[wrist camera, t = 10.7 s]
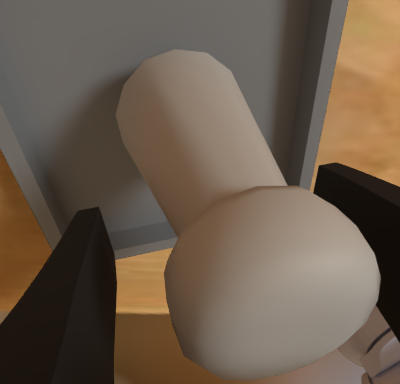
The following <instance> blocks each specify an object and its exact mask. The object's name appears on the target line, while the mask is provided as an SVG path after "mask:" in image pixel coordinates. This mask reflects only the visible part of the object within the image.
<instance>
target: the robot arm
mask: <svg viewBox="0 0 400 384" xmlns="http://www.w3.org/2000/svg"><path fill="white" fill-rule="evenodd" d="M313 194H315V195H317V196H318V197H320V198H322V199H323V200H325V201H327V202H328V203H330V204H332V205H333V206H335V207H336V208H337V209H339V210H340V211H341V212H342V213H343V214H344V215H345V216H346V217H347V218H348V219H350V220H351V221H352V222H353V223H354V224H355V225H356V226H357V227H358V229H359V231H360V232H361V234H362V235H363V237H364V238H365V240H366V241H367V243H368V244H369V246H370V248H371V249H372V251H373V252H374V254H375V257H376V261H377V265H378V269H379V272H380V276H381V281H380V289H379V296H378V301H377V303H376V305H375V306H374V308H373V310H372V312H371V314H370V316H369V318H368V320H367V322H366V323H365V324H364V325H363V326H362V327H361V328H360V329H359V330H358V331H356V332H355V333H354V334H353V335H352V336H351V337H350V338H349V339H348V340H347V341H346V342H345V343H344V344H342V345H341V346H339V347H338V350H339V351H340V352H341V353H342V354H343V355H344V356H345V357H347V358H348V359H350V360H351V361H352V362H354V363H356V364H357V365H359V366H362V367H364V368H365V370H366V373H364V374H363V375H362V384H400V187H399V186H396V185H394V184H391V183H389V182H386V181H384V180H381V179H379V178H376V177H374V176H371V175H369V174H366V173H364V172H361V171H359V170H356V169H354V168H351V167H348V166H345V165H342V164H339V163H330V164H325V165H319V168H318V173H317V178H316V182H315V187H314V192H313ZM116 293H117V279H116V266H115V254H114V251H113V248H112V245H111V242H110V239H109V236H108V233H107V230H106V226H105V223H104V220H103V217H102V214H101V211H100V208H99V207H94V208H89V209H84V210H78V211H77V212H76V214H75V215H74V217H73V219H72V220H71V222H70V224H69V225H68V227H67V229H66V231H65V232H64V234H63V236H62V237H61V239H60V241H59V242H58V244H57V246H56V247H55V249H54V250H53V252H52V254H51V255H50V257H49V258H48V260H47V261H46V263H45V264H44V266H43V268H42V269H41V271H40V272H39V273H38V275H37V276H36V278H35V279H34V280H33V282H32V283H31V285H30V286H29V288H28V289H27V290H26V292H25V293H24V295H23V296H22V297H21V299H20V300H19V301H18V303H17V304H16V305H15V307H14V308H13V309H12V310H11V312H10V313H9V314H8V316H7V317H6V318H5V320H4V321H3V322H2V323H1V324H0V384H114V340H115V316H116Z"/></svg>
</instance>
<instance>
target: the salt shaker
mask: <svg viewBox="0 0 400 384" xmlns="http://www.w3.org/2000/svg"><path fill="white" fill-rule="evenodd" d="M115 115H116V119H117V122H118V126H119V130H120V134H121V138H122V141H123V144H124V145H125V147H126V149H127V150H128V152H129V154H130V156H131V157H132V159H133V161H134V163H135V164H136V166H137V168H138V170H139V171H140V173H141V175H142V177H143V178H144V180H145V182H146V183H147V185H148V187H149V189H150V190H151V192H152V194H153V196H154V197H155V199H156V201H157V203H158V204H159V206H160V208H161V210H162V211H163V213H164V215H165V216H166V218H167V220H168V222H169V223H170V225H171V227H172V229H173V230H174V232H175V234H176V236H177V237H178V239H177V242H176V244H175V246H174V248H173V250H172V252H171V254H170V256H169V258H168V261H167V264H166V268H165V272H164V278H165V288H166V299H167V304H168V308H169V312H170V316H171V321H172V325H173V328H174V331H175V333H176V336H177V338H178V341H179V343H180V347H181V349H182V352H183V355H184V356H185V357H187V358H188V359H190V360H192V361H193V362H195V363H196V364H198V365H200V366H201V367H203V368H204V369H206V370H208V371H209V372H211V373H213V374H215V375H216V376H218V377H220V378H222V379H227V380H228V379H229V380H249V381H250V380H256V379H261V378H266V377H271V376H276V375H281V374H285V373H288V372H291V371H293V370H296V369H298V368H301V367H304V366H306V365H309V364H311V363H314V362H316V361H317V360H319V359H320V358H322V357H324V356H325V355H327V354H328V353H330V352H332V351H333V350H335V349H336V348H338V347H339V346H341V345H342V344H344V343H345V342H346V341H347V340H348V339H349V338H350V337H351V336H352V335H353V334H354V333H355V332H356V331H358V330H359V329H360V328H361V327H362V326H363V325H364V324H365V323H366V322H367V320H368V318H369V316H370V314H371V312H372V310H373V308H374V306H375V305H376V303H377V301H378V296H379V289H380V281H381V276H380V272H379V269H378V265H377V261H376V257H375V254H374V252H373V251H372V249H371V248H370V246H369V244H368V243H367V241H366V240H365V238H364V237H363V235H362V234H361V232H360V231H359V229H358V227H357V226H356V225H355V224H354V223H353V222H352V221H351V220H350V219H348V218H347V217H346V216H345V215H344V214H343V213H342V212H341V211H340V210H339V209H337V208H336V207H335V206H333V205H332V204H330V203H328V202H327V201H325V200H323V199H322V198H320V197H318V196H317V195H315V194H313V193H312V192H310V191H308V190H306V189H304V188H301V187H299V186H288V185H287V183H286V181H285V179H284V177H283V175H282V173H281V171H280V169H279V167H278V165H277V163H276V161H275V159H274V157H273V155H272V153H271V151H270V149H269V147H268V145H267V143H266V141H265V139H264V137H263V135H262V133H261V131H260V129H259V127H258V125H257V123H256V121H255V119H254V117H253V115H252V113H251V111H250V109H249V107H248V105H247V103H246V101H245V99H244V97H243V95H242V93H241V91H240V89H239V86H238V84H237V82H236V80H235V78H234V76H233V74H232V72H231V71H230V70H229V69H228V68H227V67H225V66H224V65H223V64H221V63H220V62H219V61H217V60H216V59H215V58H213V57H212V56H211V55H209V54H208V53H205V52H197V51H187V50H178V49H173V50H170V51H167V52H164V53H162V54H159V55H156V56H153V57H150V58H147V59H145V60H144V61H143V62H142V63H141V65H140V66H139V67H138V68H137V69H136V70H135V72H134V73H133V74H132V75H131V76H130V78H129V79H128V80H127V81H126V82H125V84H124V86H123V89H122V93H121V96H120V100H119V104H118V107H117V111H116V114H115Z"/></svg>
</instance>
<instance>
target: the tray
mask: <svg viewBox="0 0 400 384" xmlns="http://www.w3.org/2000/svg"><path fill="white" fill-rule="evenodd" d="M348 1H349V0H0V149H1V151H2V153H3V155H4V157H5V159H6V161H7V163H8V165H9V167H10V169H11V171H12V172H13V174H14V176H15V178H16V180H17V182H18V184H19V186H20V188H21V190H22V192H23V194H24V196H25V198H26V200H27V202H28V204H29V206H30V208H31V210H32V212H33V214H34V216H35V218H36V220H37V222H38V224H39V225H40V227H41V229H42V231H43V233H44V235H45V237H46V239H47V241H48V243H49V245H50V247H51V249H52V251H53V250H54V249H55V247H56V246H57V244H58V242H59V241H60V239H61V237H62V236H63V234H64V232H65V231H66V229H67V227H68V225H69V224H70V222H71V220H72V219H73V217H74V215H75V214H76V212H77V211H78V210H84V209H89V208H94V207H99V208H100V211H101V214H102V217H103V220H104V223H105V226H106V230H107V233H108V236H109V239H110V242H111V245H112V248H113V251H114V254H115V260H117V259H122V258H127V257H131V256H136V255H140V254H145V253H150V252H154V251H159V250H163V249H168V248H173V247H174V246H175V244H176V242H177V239H178V237H177V236H176V234H175V232H174V230H173V229H172V227H171V225H170V223H169V222H168V220H167V218H166V216H165V215H164V213H163V211H162V210H161V208H160V206H159V204H158V203H157V201H156V199H155V197H154V196H153V194H152V192H151V190H150V189H149V187H148V185H147V183H146V182H145V180H144V178H143V177H142V175H141V173H140V171H139V170H138V168H137V166H136V164H135V163H134V161H133V159H132V157H131V156H130V154H129V152H128V150H127V149H126V147H125V145H124V144H123V141H122V138H121V134H120V130H119V126H118V122H117V119H116V115H115V114H116V111H117V107H118V104H119V100H120V96H121V93H122V89H123V86H124V84H125V82H126V81H127V80H128V79H129V78H130V76H131V75H132V74H133V73H134V72H135V70H136V69H137V68H138V67H139V66H140V65H141V63H142V62H143V61H144V60H145V59H147V58H150V57H153V56H156V55H159V54H162V53H164V52H167V51H170V50H173V49H178V50H187V51H197V52H205V53H208V54H209V55H211V56H212V57H213V58H215V59H216V60H217V61H219V62H220V63H221V64H223V65H224V66H225V67H227V68H228V69H229V70H230V71H231V72H232V74H233V76H234V78H235V80H236V82H237V84H238V86H239V89H240V91H241V93H242V95H243V97H244V99H245V101H246V103H247V105H248V107H249V109H250V111H251V113H252V115H253V117H254V119H255V121H256V123H257V125H258V127H259V129H260V131H261V133H262V135H263V137H264V139H265V141H266V143H267V145H268V147H269V149H270V151H271V153H272V155H273V157H274V159H275V161H276V163H277V165H278V167H279V169H280V171H281V173H282V175H283V177H284V179H285V181H286V183H287V185H288V186H299V187H301V188H304V189H306V190H308V191H310V186H311V181H312V176H313V172H314V167H315V162H316V157H317V152H318V147H319V142H320V137H321V133H322V128H323V123H324V118H325V113H326V108H327V103H328V98H329V94H330V89H331V84H332V79H333V74H334V69H335V64H336V59H337V54H338V50H339V45H340V40H341V35H342V30H343V25H344V20H345V15H346V11H347V6H348Z"/></svg>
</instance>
